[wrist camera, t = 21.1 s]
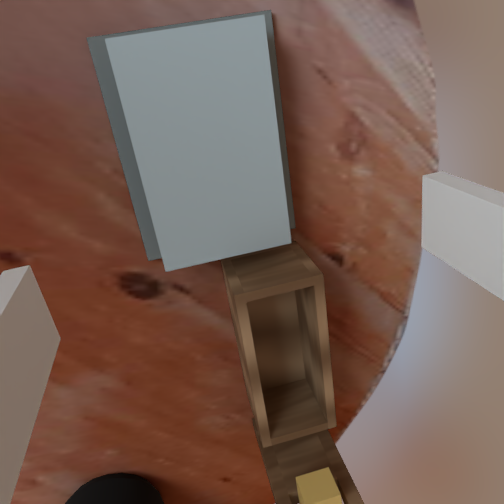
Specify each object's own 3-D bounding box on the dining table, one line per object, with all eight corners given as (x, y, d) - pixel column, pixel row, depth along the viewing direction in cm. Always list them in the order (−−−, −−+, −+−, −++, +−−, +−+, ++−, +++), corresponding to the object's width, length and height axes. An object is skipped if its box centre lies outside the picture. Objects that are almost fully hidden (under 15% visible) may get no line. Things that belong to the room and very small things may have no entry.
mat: (87, 38, 30) (86, 37, 29) (268, 10, 31) (270, 9, 31) (148, 258, 37) (148, 260, 36) (293, 225, 39) (295, 228, 38)
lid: (110, 42, 30) (104, 38, 26) (251, 20, 31) (264, 14, 27) (164, 251, 36) (165, 271, 33) (277, 226, 38) (291, 242, 34)
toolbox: (220, 258, 38) (251, 341, 27) (295, 241, 39) (357, 314, 28) (254, 429, 47) (288, 549, 35) (315, 412, 48) (368, 523, 36)
